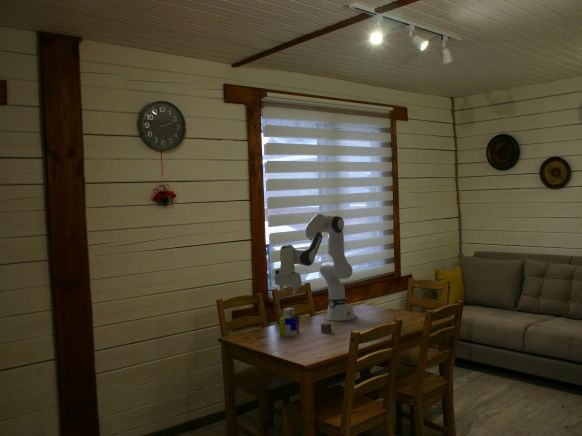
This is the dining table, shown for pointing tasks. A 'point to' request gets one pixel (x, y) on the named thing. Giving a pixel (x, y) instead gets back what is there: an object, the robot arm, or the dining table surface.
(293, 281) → the robot arm
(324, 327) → the block walnut
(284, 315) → the block birch
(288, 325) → the puzzle toy
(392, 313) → the dining table surface
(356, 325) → the dining table surface
